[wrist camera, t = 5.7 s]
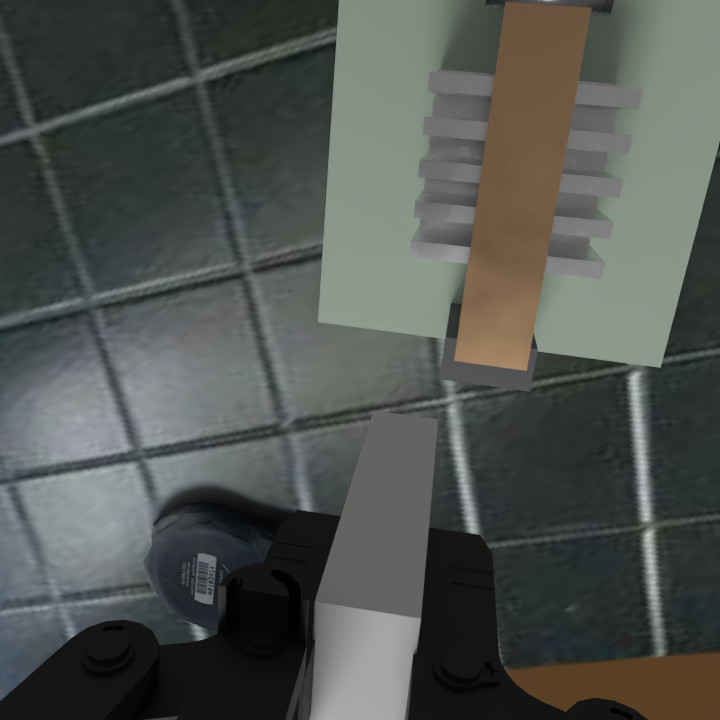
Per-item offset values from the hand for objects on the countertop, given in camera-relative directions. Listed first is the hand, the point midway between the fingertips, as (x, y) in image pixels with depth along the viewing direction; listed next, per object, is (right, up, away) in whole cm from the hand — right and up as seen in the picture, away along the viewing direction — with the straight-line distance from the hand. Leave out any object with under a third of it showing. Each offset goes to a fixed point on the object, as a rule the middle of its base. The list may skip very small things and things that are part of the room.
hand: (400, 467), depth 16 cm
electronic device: (-7, -11, +29) cm, 32 cm away
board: (+7, +12, +18) cm, 22 cm away
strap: (+5, +10, +11) cm, 15 cm away
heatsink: (+6, +12, +16) cm, 21 cm away
